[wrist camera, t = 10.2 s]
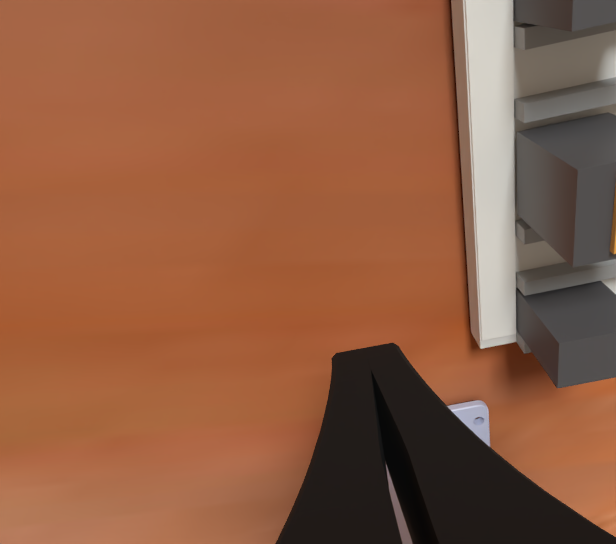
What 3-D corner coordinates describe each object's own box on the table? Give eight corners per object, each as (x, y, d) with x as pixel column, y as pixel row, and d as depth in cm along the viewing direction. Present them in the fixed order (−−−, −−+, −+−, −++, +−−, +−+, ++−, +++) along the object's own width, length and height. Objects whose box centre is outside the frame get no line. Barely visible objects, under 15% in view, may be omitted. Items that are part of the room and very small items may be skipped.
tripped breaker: (601, 196, 19) (681, 249, 15) (517, 214, 19) (576, 270, 15) (607, 112, 18) (697, 148, 14) (516, 131, 18) (581, 172, 14)
